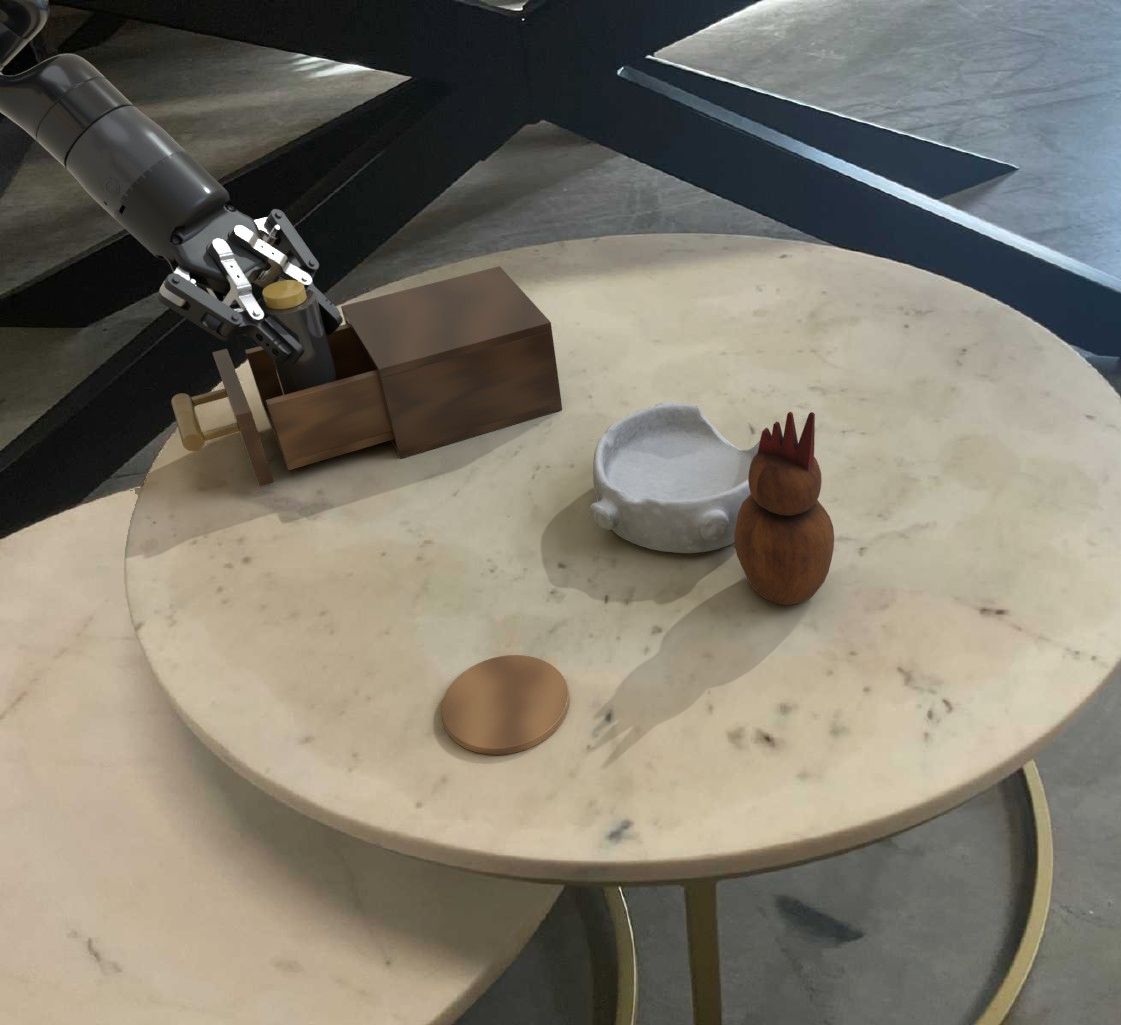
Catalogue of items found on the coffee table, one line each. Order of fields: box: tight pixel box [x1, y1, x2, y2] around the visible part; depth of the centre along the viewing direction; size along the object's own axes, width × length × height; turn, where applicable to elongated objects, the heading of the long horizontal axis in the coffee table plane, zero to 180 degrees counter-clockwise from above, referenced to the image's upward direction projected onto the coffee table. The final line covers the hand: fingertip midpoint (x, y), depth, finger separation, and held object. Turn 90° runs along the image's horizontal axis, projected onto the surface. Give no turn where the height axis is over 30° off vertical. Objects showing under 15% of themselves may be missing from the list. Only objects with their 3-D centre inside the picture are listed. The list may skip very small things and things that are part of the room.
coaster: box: [440, 654, 571, 756], centre depth 72 cm, size 8×8×1 cm
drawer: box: [171, 323, 394, 488], centre depth 94 cm, size 18×11×7 cm, turn 117°
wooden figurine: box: [734, 411, 835, 606], centre depth 75 cm, size 7×6×15 cm
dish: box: [589, 401, 760, 554], centre depth 86 cm, size 14×14×5 cm
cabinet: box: [340, 265, 563, 459], centre depth 99 cm, size 15×13×9 cm
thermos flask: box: [257, 279, 338, 395], centre depth 93 cm, size 5×5×12 cm
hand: (316, 342), depth 91 cm, fingers closed on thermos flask, 4 cm apart
